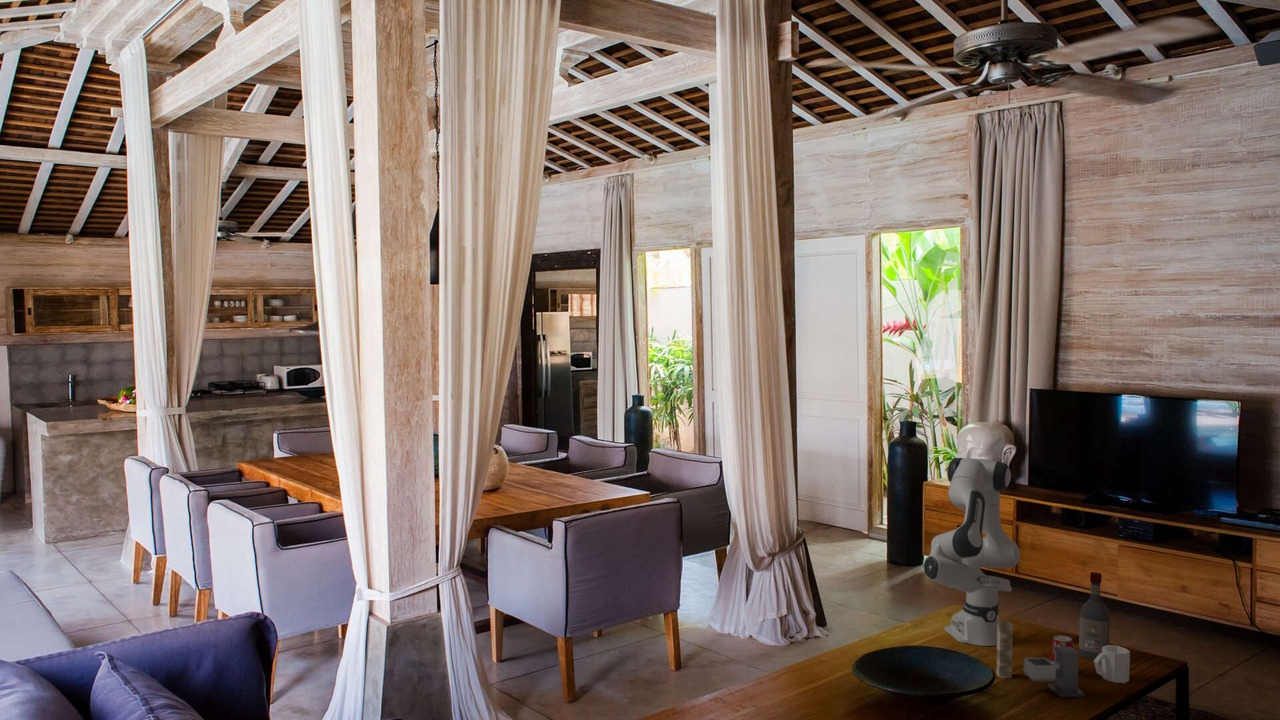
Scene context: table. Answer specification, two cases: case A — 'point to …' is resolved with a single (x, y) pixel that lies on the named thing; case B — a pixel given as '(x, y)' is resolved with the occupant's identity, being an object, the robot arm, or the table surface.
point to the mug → (1113, 664)
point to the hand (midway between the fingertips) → (999, 588)
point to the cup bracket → (1056, 672)
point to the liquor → (1093, 622)
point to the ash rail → (1004, 649)
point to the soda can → (1060, 644)
